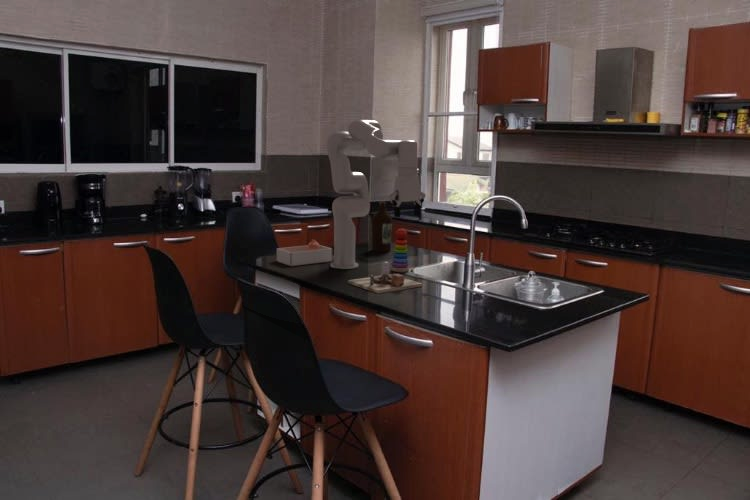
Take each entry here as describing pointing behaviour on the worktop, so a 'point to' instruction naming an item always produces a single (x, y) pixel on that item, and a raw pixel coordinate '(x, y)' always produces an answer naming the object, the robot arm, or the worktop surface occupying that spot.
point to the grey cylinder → (384, 273)
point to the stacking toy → (400, 253)
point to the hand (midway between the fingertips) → (407, 216)
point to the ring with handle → (391, 280)
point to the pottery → (312, 246)
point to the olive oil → (381, 229)
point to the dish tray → (303, 255)
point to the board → (383, 285)
